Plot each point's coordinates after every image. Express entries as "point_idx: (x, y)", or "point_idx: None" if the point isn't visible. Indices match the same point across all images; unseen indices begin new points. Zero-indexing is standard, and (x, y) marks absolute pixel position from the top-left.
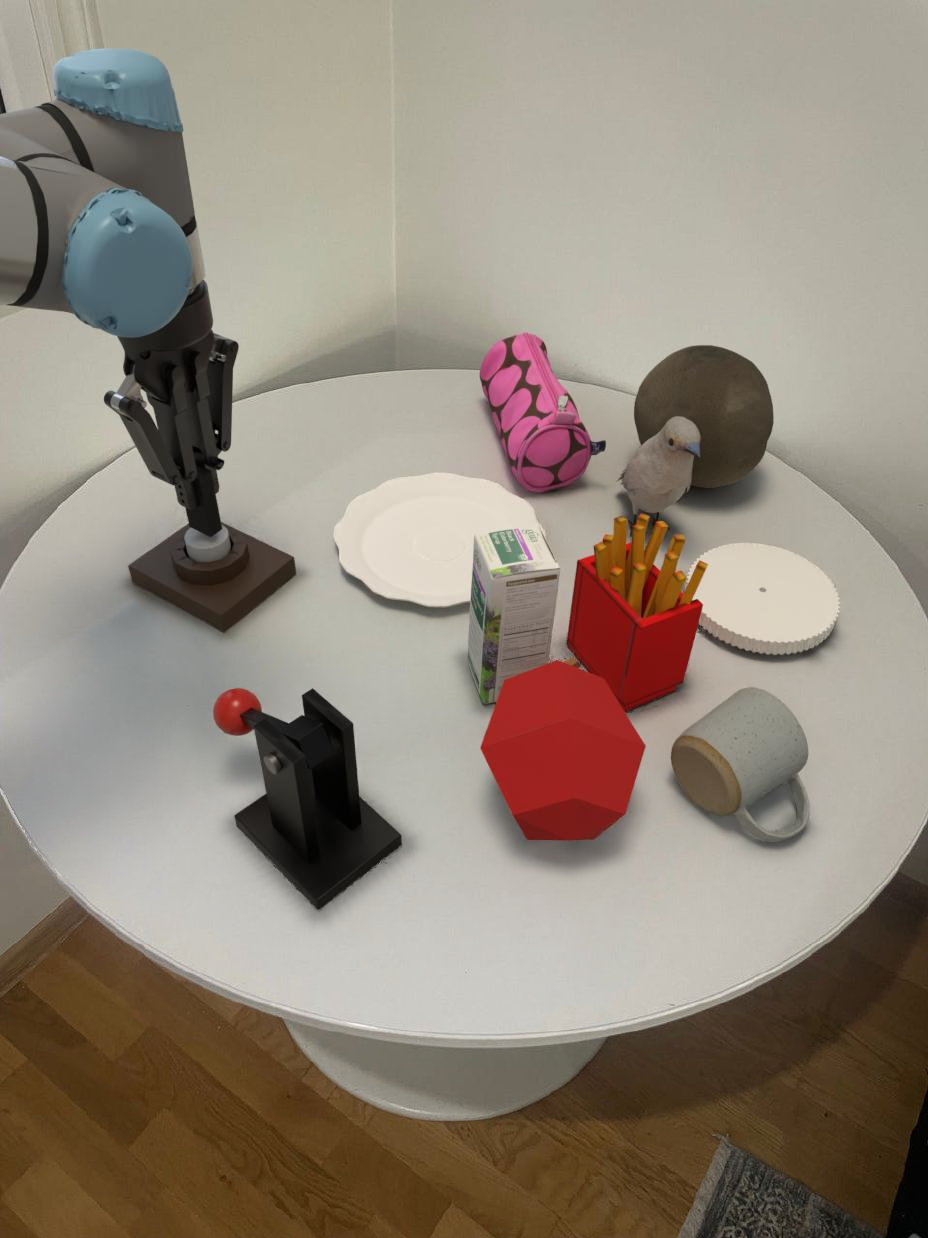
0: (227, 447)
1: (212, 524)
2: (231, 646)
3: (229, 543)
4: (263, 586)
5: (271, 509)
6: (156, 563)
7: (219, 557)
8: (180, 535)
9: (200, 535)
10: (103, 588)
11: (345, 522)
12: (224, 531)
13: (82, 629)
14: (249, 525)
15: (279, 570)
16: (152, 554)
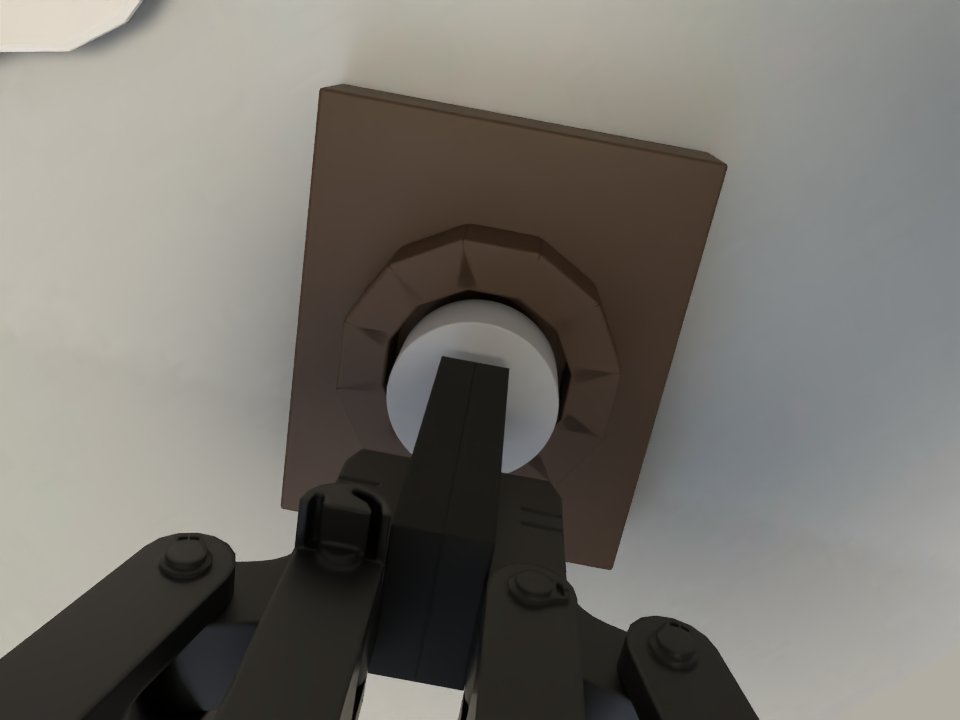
0: (196, 543)
1: (484, 386)
2: (762, 93)
3: (439, 315)
4: (504, 119)
5: (104, 347)
6: (568, 503)
7: (514, 311)
8: None
9: None
10: (656, 583)
11: (22, 25)
12: (421, 353)
13: (831, 541)
14: (210, 368)
15: (409, 104)
16: None
